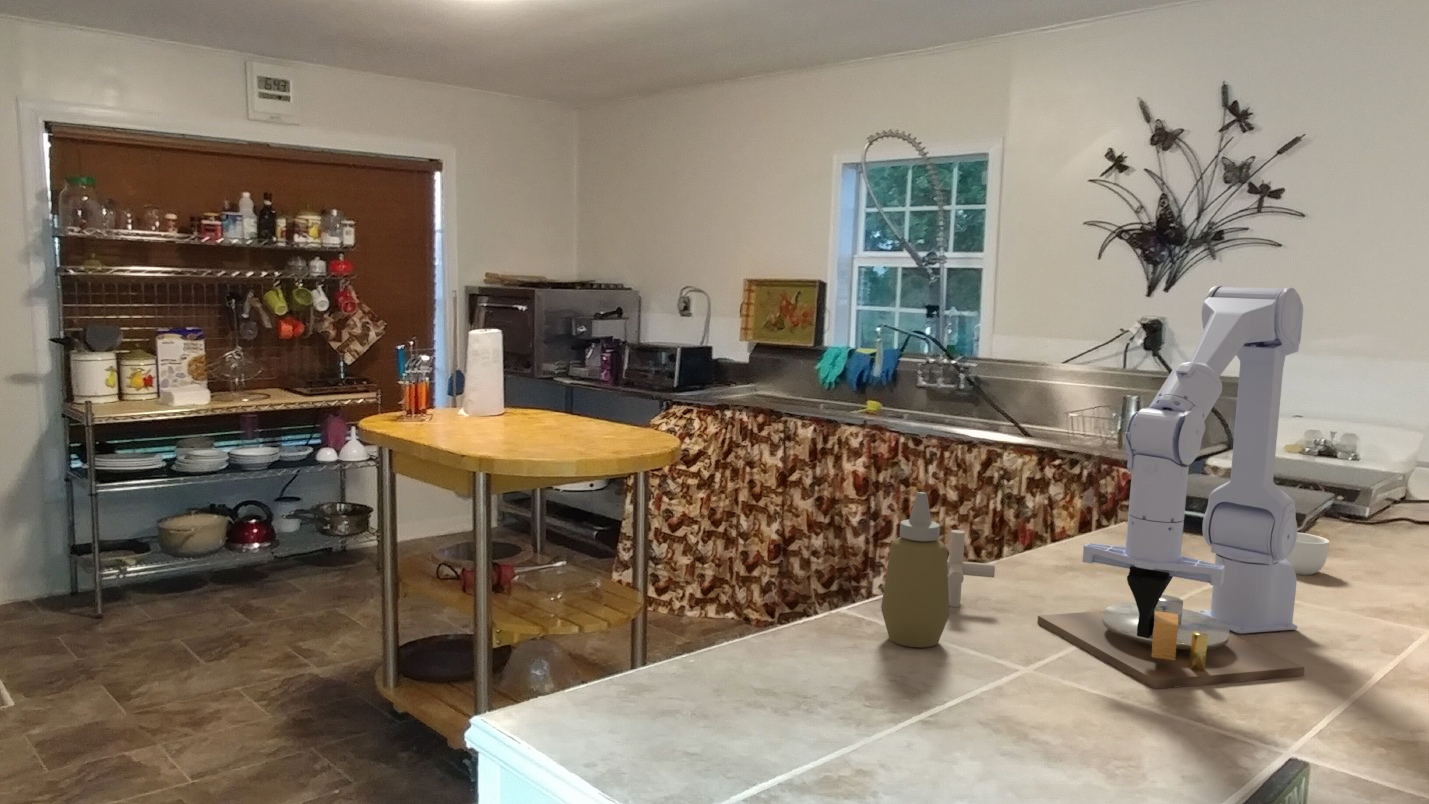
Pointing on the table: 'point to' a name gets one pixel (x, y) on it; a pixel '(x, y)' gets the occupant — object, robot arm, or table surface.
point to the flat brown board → (1136, 660)
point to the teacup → (1308, 554)
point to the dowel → (1198, 651)
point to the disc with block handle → (1166, 626)
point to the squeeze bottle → (917, 581)
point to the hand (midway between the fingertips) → (1145, 635)
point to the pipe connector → (962, 567)
